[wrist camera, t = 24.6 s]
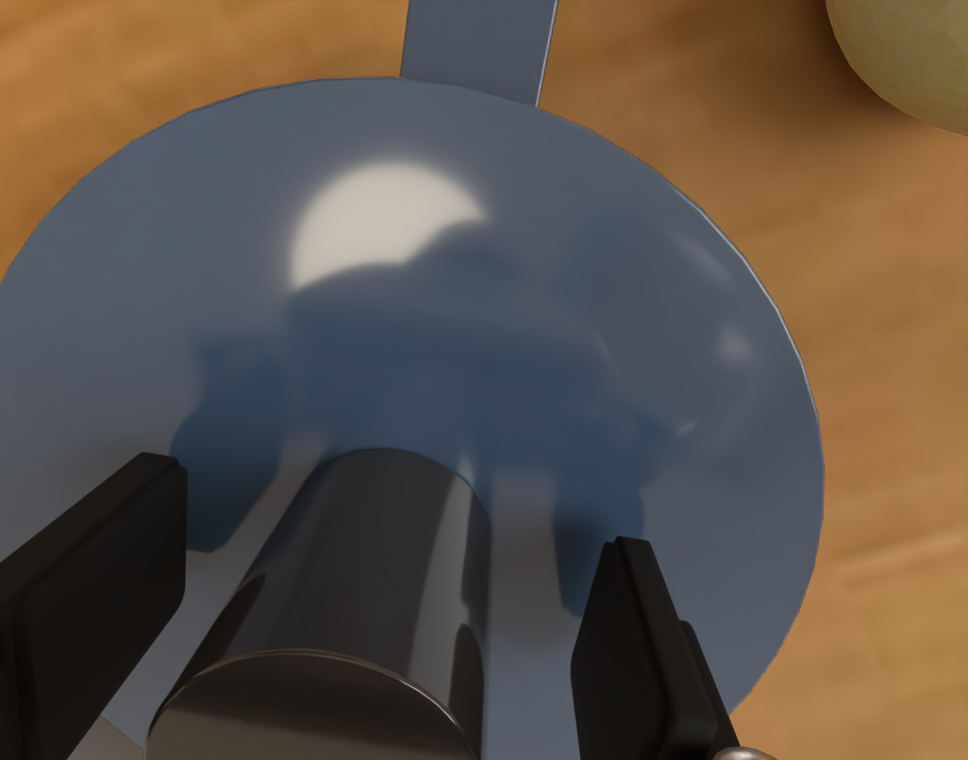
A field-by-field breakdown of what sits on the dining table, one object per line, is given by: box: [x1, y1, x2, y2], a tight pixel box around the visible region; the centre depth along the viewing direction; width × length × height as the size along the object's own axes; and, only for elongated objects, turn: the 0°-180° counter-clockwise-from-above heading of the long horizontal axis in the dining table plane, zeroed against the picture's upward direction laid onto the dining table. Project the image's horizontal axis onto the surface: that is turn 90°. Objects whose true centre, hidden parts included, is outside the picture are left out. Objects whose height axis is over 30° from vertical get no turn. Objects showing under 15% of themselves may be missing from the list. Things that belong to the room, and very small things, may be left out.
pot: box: [400, 0, 559, 107], centre depth 15 cm, size 15×21×6 cm
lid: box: [0, 76, 825, 760], centre depth 10 cm, size 16×16×6 cm
